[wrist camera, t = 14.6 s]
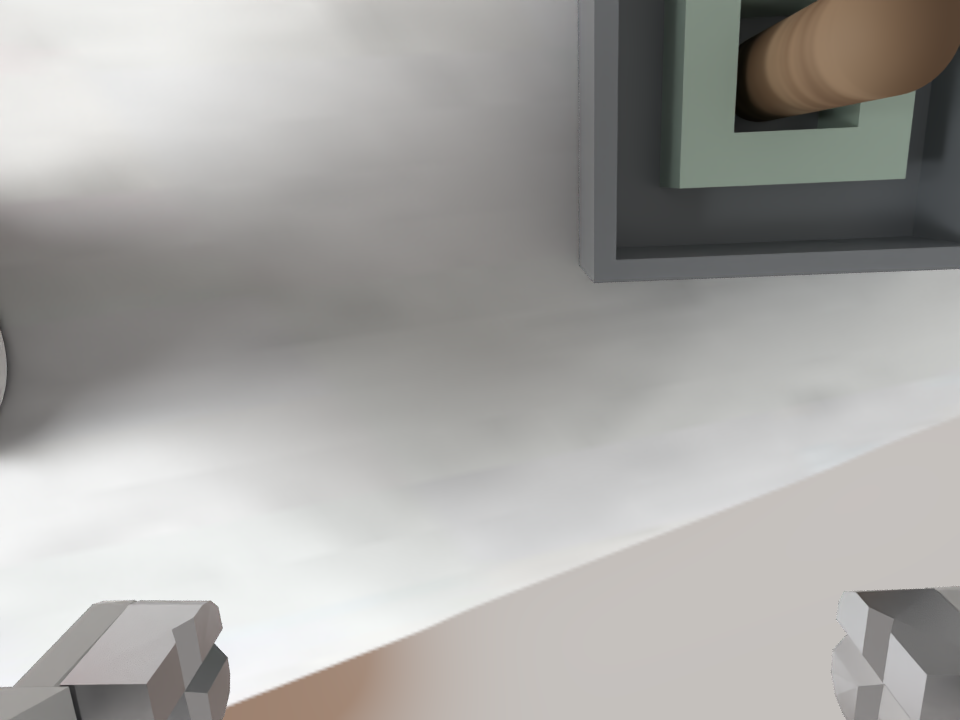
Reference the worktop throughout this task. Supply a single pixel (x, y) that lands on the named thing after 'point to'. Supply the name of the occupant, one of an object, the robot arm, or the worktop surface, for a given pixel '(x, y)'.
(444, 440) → the worktop surface
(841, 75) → the peg
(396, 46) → the worktop surface
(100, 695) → the robot arm
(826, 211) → the bore box
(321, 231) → the worktop surface
